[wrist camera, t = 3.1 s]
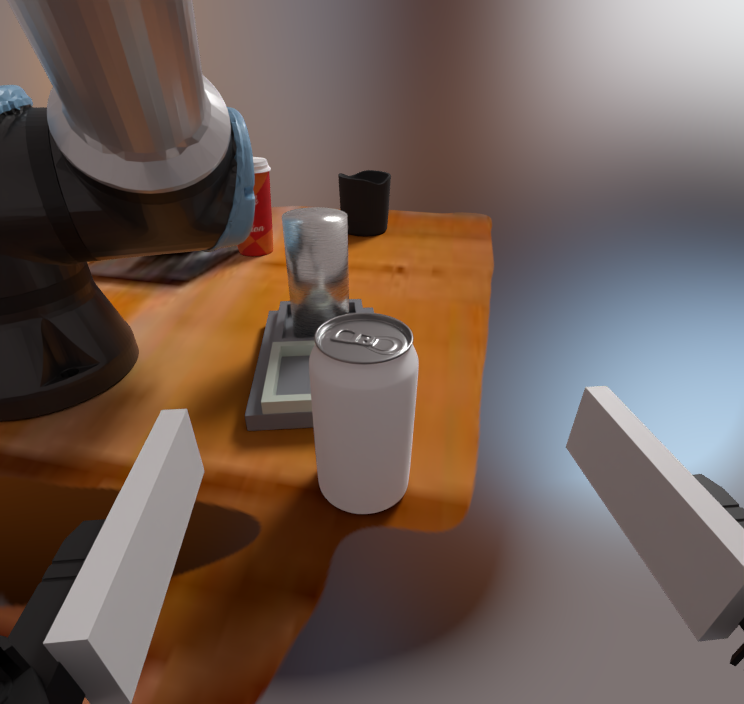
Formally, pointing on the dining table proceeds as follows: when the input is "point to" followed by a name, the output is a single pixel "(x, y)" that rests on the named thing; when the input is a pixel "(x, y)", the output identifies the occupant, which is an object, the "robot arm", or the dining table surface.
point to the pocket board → (284, 375)
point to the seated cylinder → (316, 266)
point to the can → (363, 409)
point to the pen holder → (365, 201)
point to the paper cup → (260, 214)
